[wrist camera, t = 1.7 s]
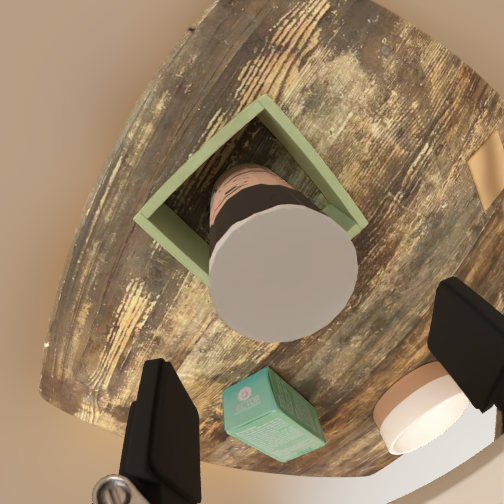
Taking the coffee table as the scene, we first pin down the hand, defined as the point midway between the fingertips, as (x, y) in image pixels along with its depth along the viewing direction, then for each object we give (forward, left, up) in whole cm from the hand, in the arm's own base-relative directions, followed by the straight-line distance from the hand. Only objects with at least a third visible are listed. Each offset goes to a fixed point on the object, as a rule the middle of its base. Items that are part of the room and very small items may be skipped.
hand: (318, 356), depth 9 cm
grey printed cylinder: (0, 0, -20) cm, 20 cm away
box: (+16, +22, -20) cm, 34 cm away
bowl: (+1, +46, -20) cm, 50 cm away
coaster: (-27, +17, -19) cm, 38 cm away
